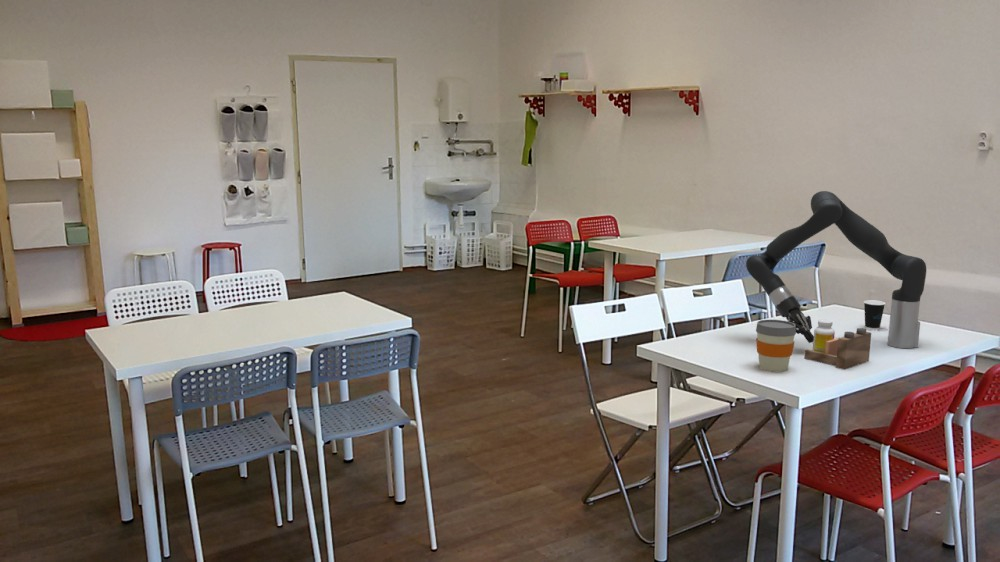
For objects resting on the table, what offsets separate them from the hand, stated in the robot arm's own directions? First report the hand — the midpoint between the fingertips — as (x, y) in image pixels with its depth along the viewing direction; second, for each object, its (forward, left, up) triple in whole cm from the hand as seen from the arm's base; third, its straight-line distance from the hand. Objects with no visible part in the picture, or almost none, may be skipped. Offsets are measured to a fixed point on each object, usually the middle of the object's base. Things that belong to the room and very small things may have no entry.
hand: (812, 341), depth 284 cm
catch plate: (-5, +6, -4) cm, 9 cm away
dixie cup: (-38, -39, -5) cm, 54 cm away
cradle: (-6, +6, -5) cm, 10 cm away
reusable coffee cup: (+18, +16, -5) cm, 25 cm away
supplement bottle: (-3, +3, -5) cm, 6 cm away
